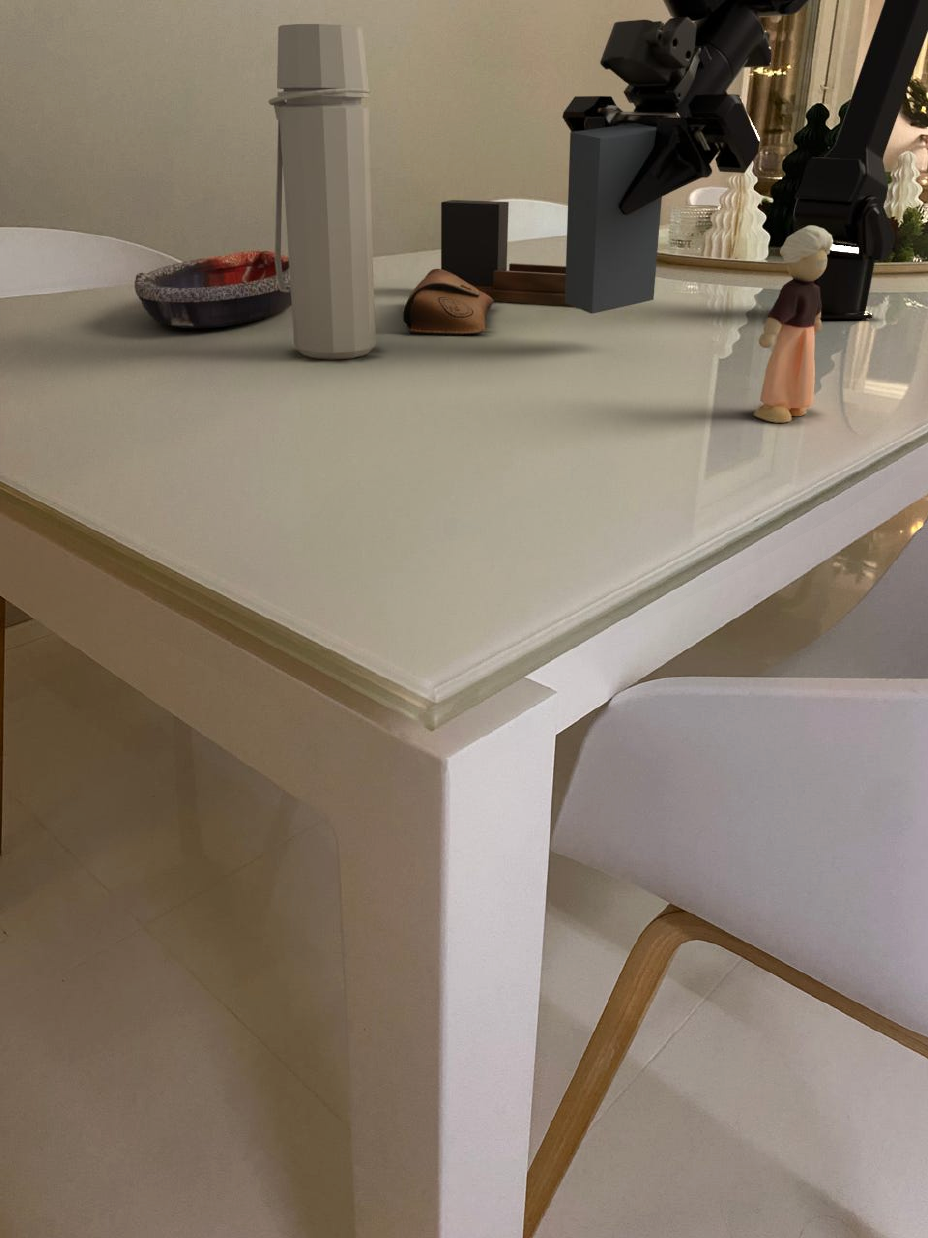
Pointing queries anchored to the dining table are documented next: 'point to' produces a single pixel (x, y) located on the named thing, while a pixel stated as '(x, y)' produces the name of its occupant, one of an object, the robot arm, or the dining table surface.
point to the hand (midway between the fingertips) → (601, 208)
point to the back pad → (609, 220)
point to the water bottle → (325, 188)
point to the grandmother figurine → (794, 328)
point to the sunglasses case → (446, 306)
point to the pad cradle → (493, 255)
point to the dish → (215, 290)
